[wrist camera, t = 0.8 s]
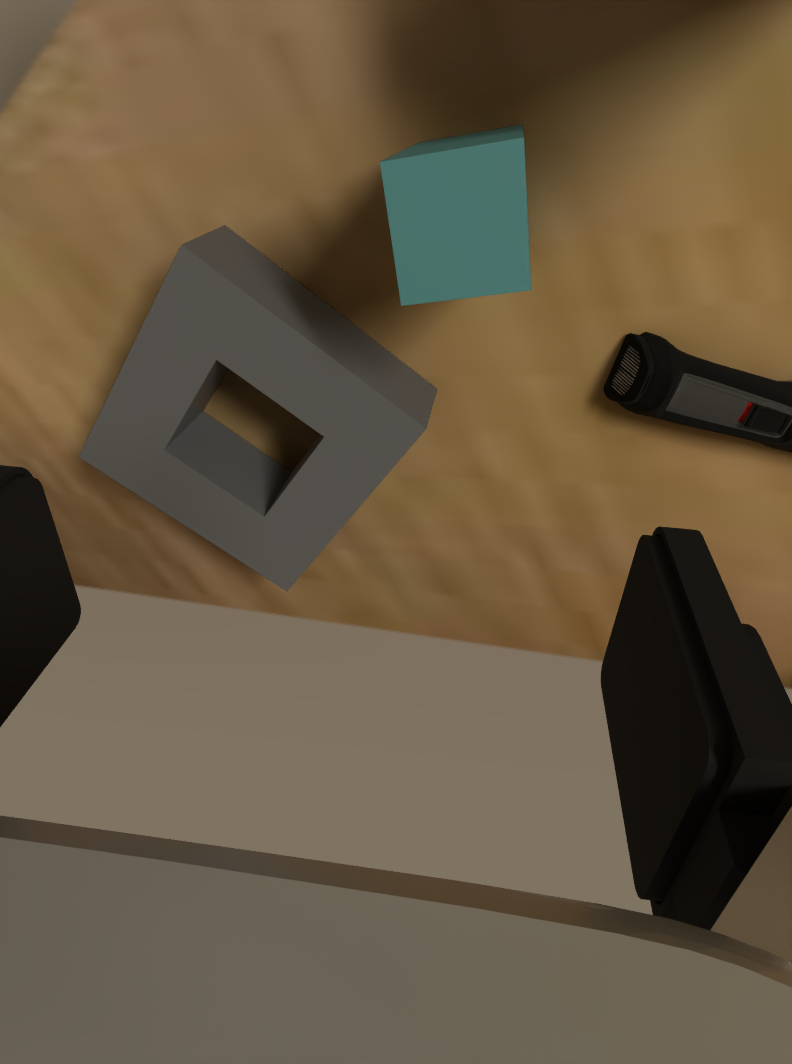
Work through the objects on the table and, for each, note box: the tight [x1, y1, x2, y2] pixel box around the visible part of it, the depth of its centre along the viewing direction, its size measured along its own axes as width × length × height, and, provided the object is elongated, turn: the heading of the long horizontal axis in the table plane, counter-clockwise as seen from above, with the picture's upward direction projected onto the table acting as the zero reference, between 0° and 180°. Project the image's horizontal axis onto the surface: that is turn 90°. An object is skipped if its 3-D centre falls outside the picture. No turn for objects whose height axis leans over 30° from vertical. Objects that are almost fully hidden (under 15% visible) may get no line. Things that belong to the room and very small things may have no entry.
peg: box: [380, 124, 531, 306], centre depth 25 cm, size 4×4×10 cm
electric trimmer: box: [604, 332, 792, 452], centre depth 32 cm, size 4×16×3 cm, turn 76°
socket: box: [79, 225, 437, 591], centre depth 35 cm, size 13×13×5 cm
